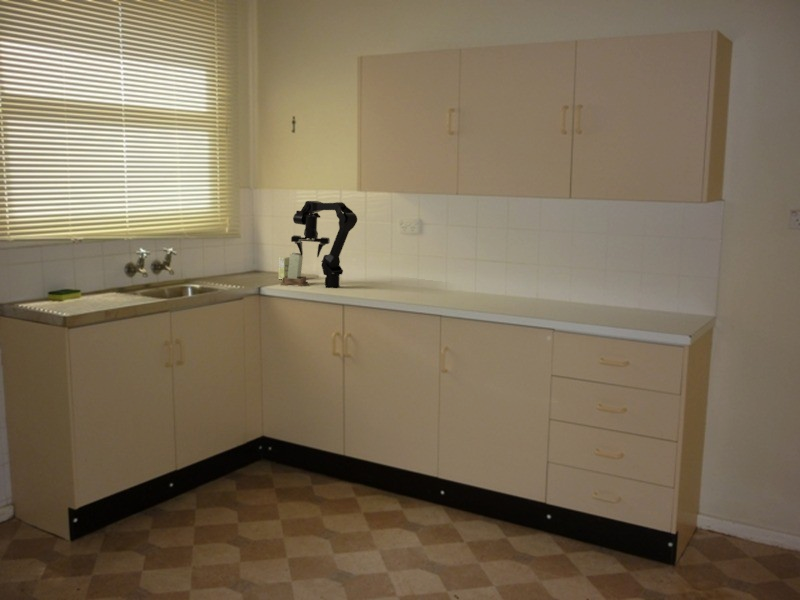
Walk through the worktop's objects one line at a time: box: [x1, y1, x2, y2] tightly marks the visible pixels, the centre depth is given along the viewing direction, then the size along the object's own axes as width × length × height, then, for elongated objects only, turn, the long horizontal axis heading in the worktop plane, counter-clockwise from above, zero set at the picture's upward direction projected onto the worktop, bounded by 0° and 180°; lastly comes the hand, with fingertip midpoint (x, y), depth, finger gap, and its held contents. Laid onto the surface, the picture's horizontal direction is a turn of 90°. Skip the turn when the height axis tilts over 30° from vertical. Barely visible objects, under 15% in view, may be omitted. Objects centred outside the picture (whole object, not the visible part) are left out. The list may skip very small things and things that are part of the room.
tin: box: [288, 252, 304, 279], centre depth 405 cm, size 5×5×14 cm
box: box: [278, 256, 290, 281], centre depth 422 cm, size 10×6×12 cm, turn 130°
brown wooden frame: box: [280, 276, 309, 287], centre depth 405 cm, size 12×10×4 cm
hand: (309, 256), depth 408 cm, fingers open, 8 cm apart
